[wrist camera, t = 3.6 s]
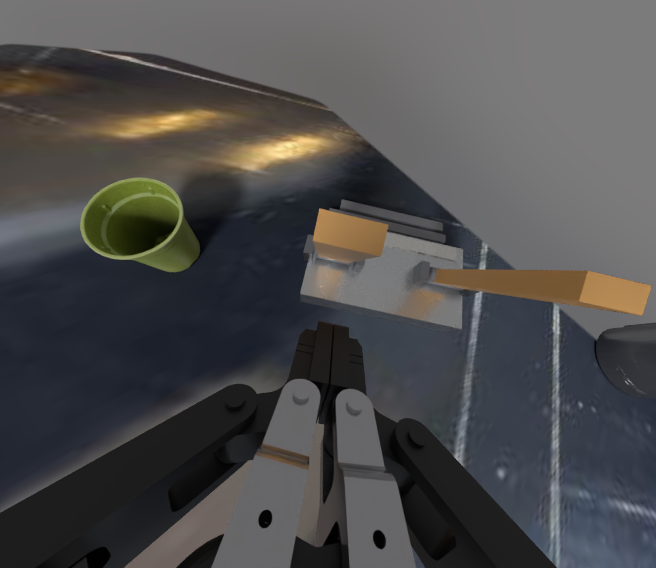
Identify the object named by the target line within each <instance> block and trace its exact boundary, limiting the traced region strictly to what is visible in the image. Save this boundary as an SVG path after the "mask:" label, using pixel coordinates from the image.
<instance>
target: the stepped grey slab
mask: <svg viewBox="0 0 656 568" xmlns="http://www.w3.org/2000/svg"><path fill="white" fill-rule="evenodd" d="M329 211H332V212H336V213H341V214H345V215H349V216H354V217H358V218H362V219H367V220H371V221H375V222H380V223H384V224H388V225H389V226H388V230H387V232H391V233H395V234H400V235H404V236H408V237H413V238H417V239H421V240H426V241H430V242H434V243H438V244H443V245H444V244H445V241H446V235H444V234H440V233H441V232H442V231H443V223H441V222H437V221H432V220H428V219H424V218H420V217H415V216H411V215H407V214H403V213H398V212H394V211H390V210H386V209H381V208H377V207H373V206H368V205H364V204H360V203H356V202H351V201H347V200H343V199H342V201H341V206H340V210H336V209H332V208H330V209H329Z"/></svg>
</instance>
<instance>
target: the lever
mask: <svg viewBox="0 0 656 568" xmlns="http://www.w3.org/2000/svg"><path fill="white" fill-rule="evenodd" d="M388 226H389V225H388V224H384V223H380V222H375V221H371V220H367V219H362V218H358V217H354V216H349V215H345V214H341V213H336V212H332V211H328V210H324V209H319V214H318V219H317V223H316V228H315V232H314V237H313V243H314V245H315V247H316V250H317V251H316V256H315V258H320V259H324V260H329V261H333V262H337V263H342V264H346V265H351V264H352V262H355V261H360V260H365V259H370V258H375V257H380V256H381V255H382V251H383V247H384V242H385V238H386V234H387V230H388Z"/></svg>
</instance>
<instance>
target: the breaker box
mask: <svg viewBox="0 0 656 568" xmlns="http://www.w3.org/2000/svg"><path fill="white" fill-rule="evenodd" d="M313 237H314V236H313V235H308V237H307V241H306V245H305V249H304V260H306V261H308V264H307V268H306V272H305V276H304V280H303V284H302V289H301V293H300V298H301V302H306V303H310V304H315V305H319V306H324V307H329V308H333V309H338V310H342V311H347V312H351V313H356V314H361V315H365V316H370V317H374V318H379V319H383V320H388V321H393V322H397V323H402V324H406V325H411V326H416V327H420V328H425V329H429V330H434V331H438V332H449V331H454V330H460V329H462V296H466V297H467V296H470V295H473V294H475V293H478V292H479V291H475V290H468V289H464V290H457V289H453V288H449V287H444V286H440V285H435V284H431V283H426V282H427V281H429V269H430V267H435V268H439V269H463V249H460V248H456V247H451V246H447V245H443V244H438V243H434V242H430V241H426V240H421V239H417V238H413V237H408V236H404V235H400V234H395V233H391V232H387V234H386V238H385V242H384V247H383V251H382V255H381V256H380V257H375V258H370V259H365V260H360V261H355V262H352V264H351V265H346V264H342V263H337V262H333V261H329V260H324V259H320V258H315V256H316V251H317V250H316V247H315V245H314V243H313Z"/></svg>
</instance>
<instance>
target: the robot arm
mask: <svg viewBox="0 0 656 568" xmlns="http://www.w3.org/2000/svg"><path fill="white" fill-rule="evenodd" d="M596 354H597V359H598V362H599V364H600V367H601V369H602V370H603V372H604V374H605V375H606V377H607V378H608V379H609V380H610V381H611V382H612V383H613V384H614V385H615V386H616V387H617V388H619V389H620V390H621V391H623V392H625V393H627V394H630V395H633V396H639V397H647V398H656V323H649V324H639V325H628V326H624V327H623V328H613V329H608V330H606V331H604V332H603V333H602V334H601V335H600V336H599V338H598V340H597V344H596ZM318 417H319V422H318V423H319V424H325V425H324V436H323V439H322V442H321V457H320V505H319V515H318V521H317V529H316V547H314V546H312V545H310V544H309V543H307V542H305V541H304V540H302V539H300V538H298V537H297V536H296V533H297V527H298V522H299V517H300V511H301V506H302V501H303V495H304V490H305V485H306V479H307V474H308V468H309V456H310V450H311V445H312V440H313V435H314V429H315V424H316V423H317V420H318ZM248 460H253V461H252V464H251V466H250V469H249V472H248V474H247V477H246V479H245V482H244V485H243V487H242V490H241V492H240V495H239V498H238V500H237V503H236V505H235V508H234V510H233V513H232V516H231V518H230V521H229V523H228V526H227V529H226V531H225V534H222V535H220V536H217V537H216V538H214V539H212V540H210V541H208V542H206V543H205V544H204V545H202V546H201V547H199V548H198V549H196V550H195V551H194V552H193V553H192V554H190V555H189V556H188V557H187V558H186V559H185V560H184V561H183V562H182V563H180V564H179V565H178V566H177V567H176V568H416V566H415V561H414V557H413V552H412V548H411V546H412V547H413V549H414V551H415V552H416V554H417V555H418V557H419V558H420V560H421V562H422V563H423V565H424V566H425V568H557V567H556V566H555V565H554V564H553V563H552V562H551V561H550V560H549V559H548V558H547V557H546V556H545V554H544V553H543V552H542V551H541V550H540V549H539V548H538V547H537V546H536V545H535V544H534V543H533V542H532V540H531V539H530V538H529V537H528V536H527V535H526V534H525V533H524V532H523V531H522V530H521V529H520V528H519V526H518V525H517V524H516V523H515V522H514V521H513V520H512V519H511V518H510V517H509V516H508V515H507V514H506V512H505V511H504V510H503V509H502V508H501V507H500V506H499V505H498V504H497V503H496V502H495V501H494V500H493V498H492V497H491V496H490V495H489V494H488V493H487V492H486V491H485V490H484V489H483V488H482V487H481V486H480V485H479V483H478V482H477V481H476V480H475V479H474V478H473V477H472V476H471V475H470V474H469V473H468V472H467V471H466V469H465V468H464V467H463V466H462V465H461V464H460V463H459V462H458V461H457V460H456V459H455V458H454V457H453V455H452V454H451V453H450V452H449V451H448V450H447V449H446V448H445V447H444V446H443V445H442V444H441V443H440V441H439V440H438V439H437V438H436V437H435V436H434V435H433V434H432V433H431V432H430V431H429V430H428V429H427V428H426V427H425V426H424V425H423V424H422V423H420V422H419V421H416V420H414V419H410V418H404V419H402V420H400V421H399V422H398V423H397V422H395V421H393V420H391V419H389V418H387V417H385V416H383V415H382V414H380V413H379V412H377V411H376V410H375V409H374V408H373V406H372V403H371V401H370V400H369V398H368V397H367V394H366V385H365V374H364V366H363V353H362V347H361V345H360V344H359V342H358V340H357V339H352V338H349V328H348V327H345V326H340V325H336V324H334V325H333V324H331V323H326V322H321V321H319V322H318V326H317V330H316V331H313V330H309V329H306V330H305V331H304V332H303V333H302V334H301V335H300V337H299V341H298V345H297V348H296V352H295V356H294V359H293V363H292V367H291V371H290V374H289V378H288V380H287V382H286V383H285V385H284V386H282V387H281V388H280V389H278V390H276V391H273V392H269V393H260V394H256V392H255V391H254V389H253V388H251V387H250V386H247V385H244V384H234V385H230V386H227V387H225V388H223V389H222V390H220V391H218V392H216V393H214V394H213V395H211V396H209V397H207V398H206V399H204V400H202V401H200V402H198V403H197V404H195V405H193V406H191V407H189V408H188V409H186V410H184V411H182V412H180V413H179V414H177V415H175V416H173V417H171V418H170V419H168V420H166V421H164V422H162V423H161V424H159V425H157V426H155V427H153V428H152V429H150V430H148V431H146V432H145V433H143V434H141V435H139V436H137V437H136V438H134V439H132V440H130V441H128V442H127V443H125V444H123V445H121V446H119V447H118V448H116V449H114V450H112V451H110V452H109V453H107V454H105V455H103V456H101V457H100V458H98V459H96V460H94V461H93V462H91V463H89V464H87V465H85V466H84V467H82V468H80V469H78V470H76V471H75V472H73V473H71V474H69V475H67V476H66V477H64V478H62V479H60V480H58V481H57V482H55V483H53V484H51V485H49V486H48V487H46V488H44V489H42V490H40V491H39V492H37V493H35V494H33V495H32V496H30V497H28V498H26V499H24V500H23V501H21V502H19V503H17V504H15V505H14V506H12V507H10V508H8V509H6V510H5V511H3V512H1V513H0V568H124V567H125V566H126V565H127V564H128V563H129V562H131V561H132V560H133V559H134V558H135V557H136V556H138V555H139V554H140V553H141V552H142V551H143V550H145V549H146V548H147V547H148V546H149V545H150V544H152V543H153V542H154V541H155V540H156V539H157V538H159V537H160V536H161V535H162V534H163V533H164V532H166V531H167V530H168V529H169V528H170V527H172V526H173V525H174V524H175V523H176V522H177V521H179V520H180V519H181V518H182V517H183V516H184V515H186V514H187V513H188V512H189V511H190V510H191V509H193V508H194V507H195V506H196V505H197V504H198V503H200V502H201V501H202V500H203V499H204V498H205V497H207V496H208V495H209V494H210V493H211V492H212V491H214V490H215V489H216V488H217V487H218V486H219V485H221V484H222V483H223V482H224V481H225V480H226V479H228V478H229V477H230V476H231V475H232V474H233V473H235V472H236V471H237V470H238V469H239V468H240V467H242V466H243V465H244V464H245V463H246V462H247V461H248ZM374 542H375V543H374Z"/></svg>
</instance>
